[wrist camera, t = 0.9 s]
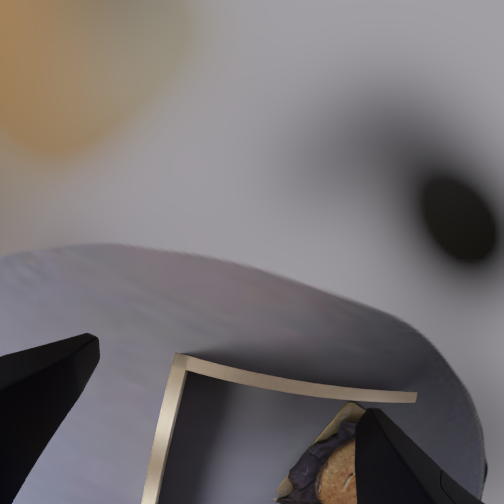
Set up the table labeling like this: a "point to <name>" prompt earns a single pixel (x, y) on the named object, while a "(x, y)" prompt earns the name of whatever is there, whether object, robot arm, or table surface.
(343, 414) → the bread roll
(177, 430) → the table surface
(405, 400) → the frame
